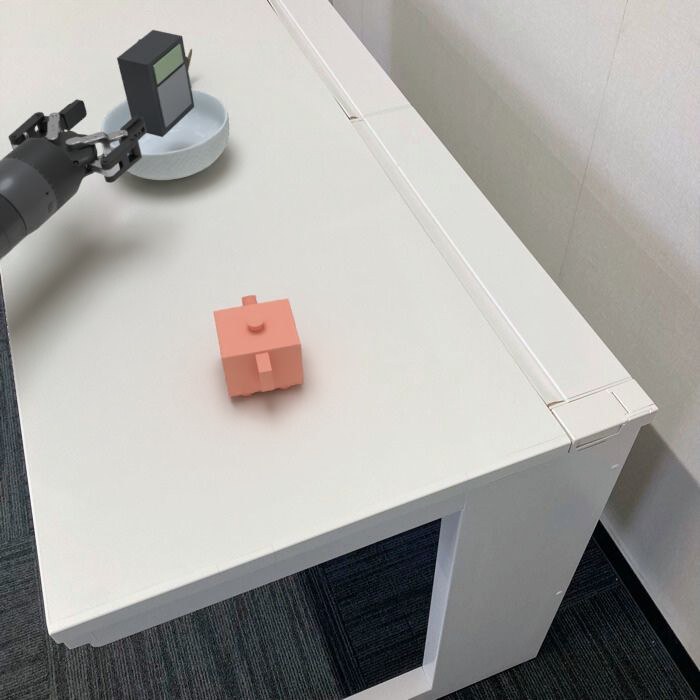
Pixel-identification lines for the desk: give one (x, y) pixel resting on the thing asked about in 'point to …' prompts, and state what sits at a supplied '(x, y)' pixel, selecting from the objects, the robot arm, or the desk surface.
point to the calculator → (157, 81)
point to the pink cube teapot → (259, 346)
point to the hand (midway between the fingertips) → (112, 113)
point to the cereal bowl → (177, 139)
